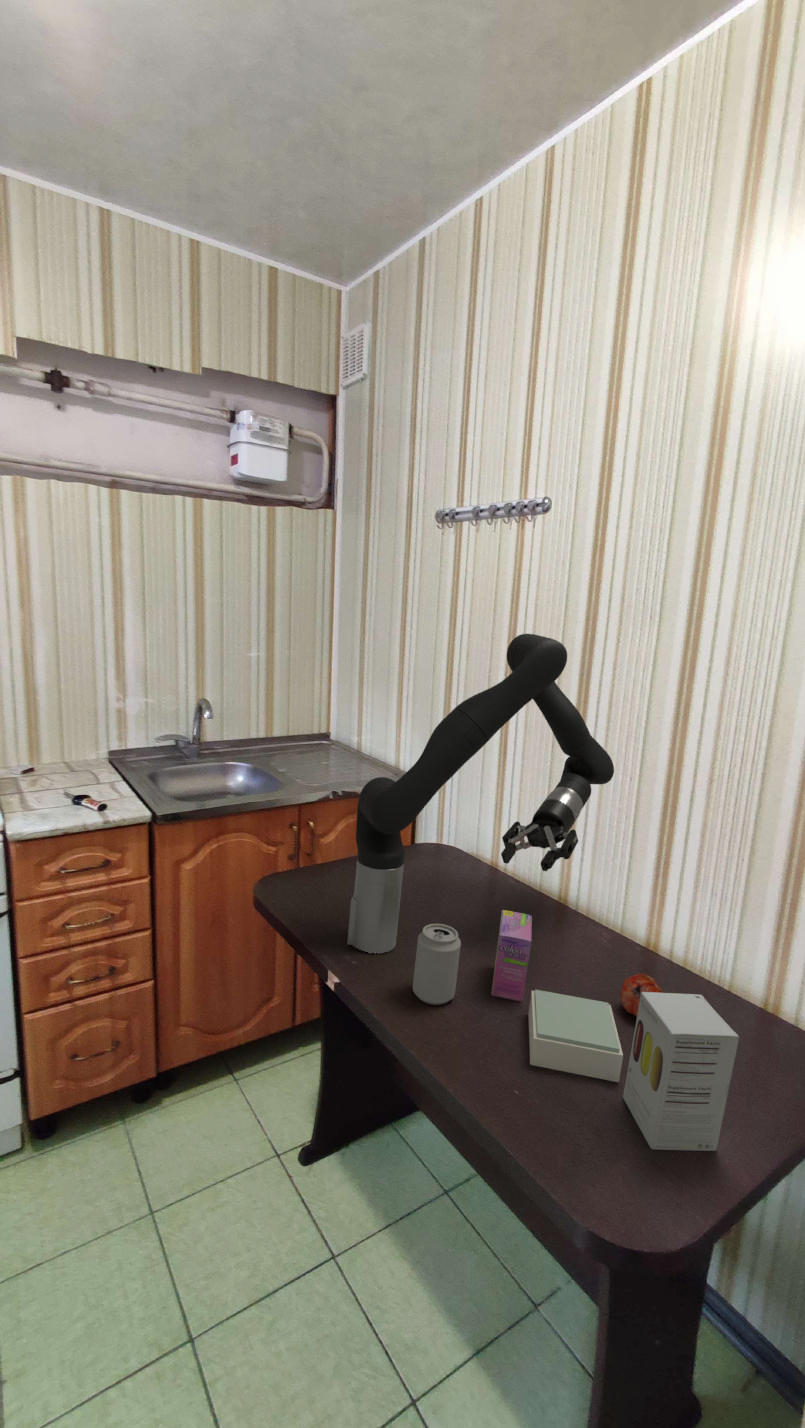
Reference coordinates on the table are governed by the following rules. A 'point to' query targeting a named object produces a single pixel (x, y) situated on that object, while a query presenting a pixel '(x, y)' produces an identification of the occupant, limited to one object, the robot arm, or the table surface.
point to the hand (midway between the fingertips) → (523, 863)
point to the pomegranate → (637, 991)
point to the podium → (574, 1035)
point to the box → (512, 955)
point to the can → (436, 964)
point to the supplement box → (679, 1071)
